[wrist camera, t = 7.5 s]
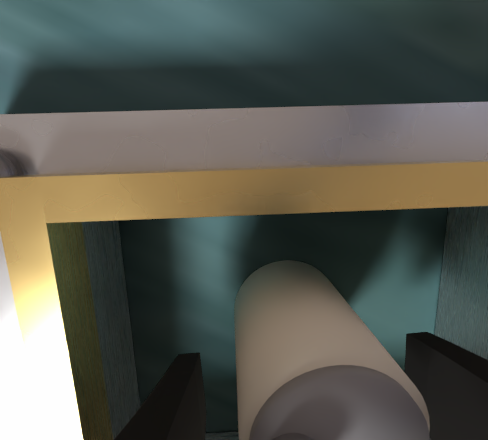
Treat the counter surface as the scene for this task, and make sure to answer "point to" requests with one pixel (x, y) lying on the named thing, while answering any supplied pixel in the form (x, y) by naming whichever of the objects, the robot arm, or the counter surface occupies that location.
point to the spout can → (315, 365)
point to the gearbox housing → (201, 205)
